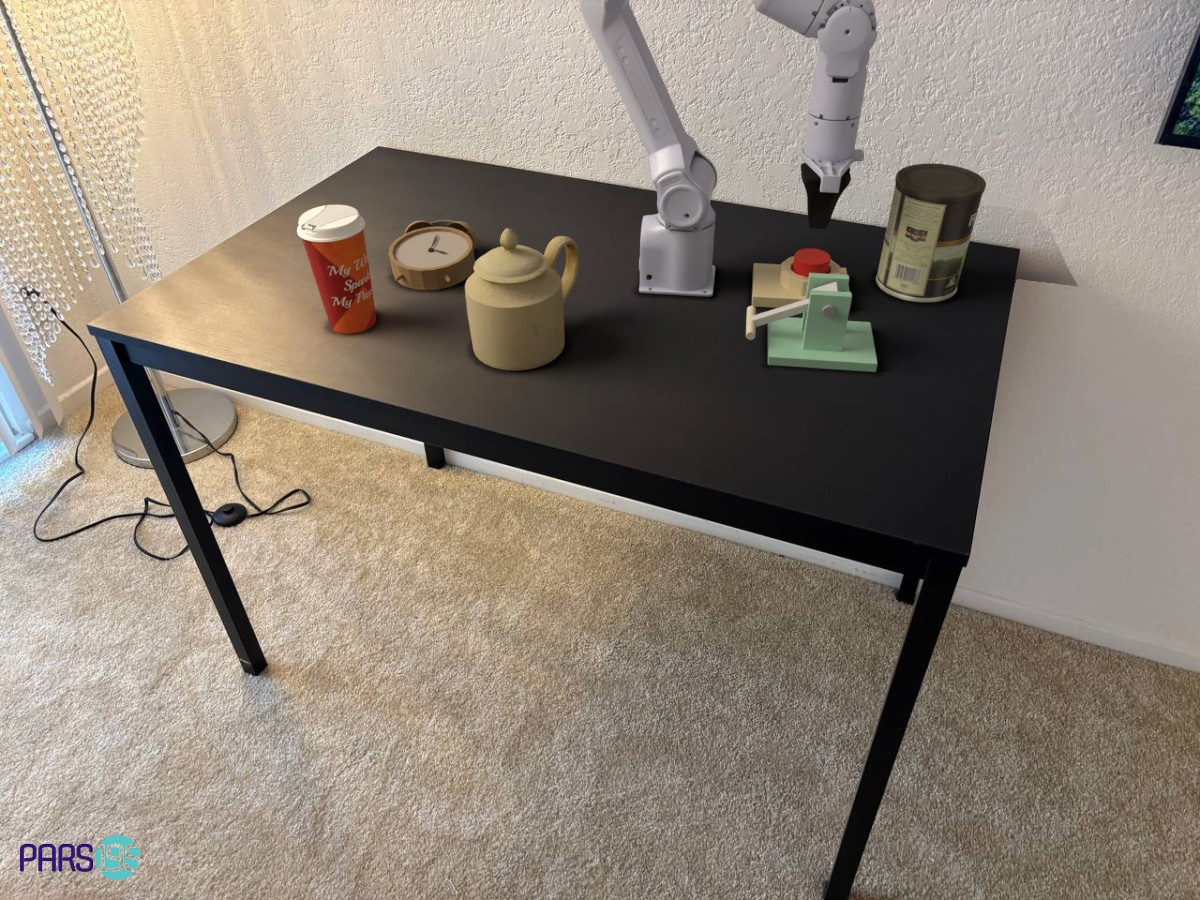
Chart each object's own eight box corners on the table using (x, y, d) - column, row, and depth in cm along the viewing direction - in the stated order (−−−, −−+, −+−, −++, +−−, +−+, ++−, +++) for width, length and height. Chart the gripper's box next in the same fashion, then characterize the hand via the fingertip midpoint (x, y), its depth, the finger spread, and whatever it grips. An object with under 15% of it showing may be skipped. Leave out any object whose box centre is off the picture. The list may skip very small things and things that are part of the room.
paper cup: (353, 344, 103) (328, 236, 94) (308, 328, 106) (279, 221, 98) (398, 315, 108) (377, 210, 99) (353, 300, 112) (330, 197, 103)
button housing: (751, 306, 108) (754, 282, 106) (752, 272, 115) (755, 248, 113) (849, 312, 107) (854, 287, 105) (844, 277, 114) (848, 253, 111)
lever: (749, 345, 99) (742, 329, 97) (750, 319, 103) (743, 302, 102) (844, 317, 95) (838, 299, 93) (841, 290, 99) (835, 272, 98)
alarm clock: (377, 270, 111) (404, 203, 121) (386, 300, 115) (412, 233, 125) (462, 273, 110) (483, 205, 120) (468, 302, 114) (488, 235, 124)
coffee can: (952, 268, 115) (980, 164, 106) (961, 306, 107) (992, 198, 98) (872, 262, 117) (893, 160, 108) (876, 299, 109) (899, 193, 100)
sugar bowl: (502, 302, 111) (490, 189, 101) (584, 311, 108) (581, 197, 99) (458, 365, 99) (440, 245, 90) (549, 377, 97) (541, 256, 88)
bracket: (767, 365, 98) (775, 301, 93) (767, 324, 105) (775, 262, 100) (875, 372, 97) (890, 307, 91) (868, 330, 104) (881, 268, 98)
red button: (793, 278, 108) (795, 263, 106) (792, 261, 111) (794, 247, 110) (829, 280, 107) (831, 265, 106) (827, 263, 110) (829, 249, 109)
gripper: (877, 136, 90) (855, 254, 99) (865, 93, 101) (846, 202, 110) (808, 134, 91) (793, 251, 100) (804, 91, 102) (790, 200, 111)
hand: (817, 226), depth 105 cm, fingers closed
